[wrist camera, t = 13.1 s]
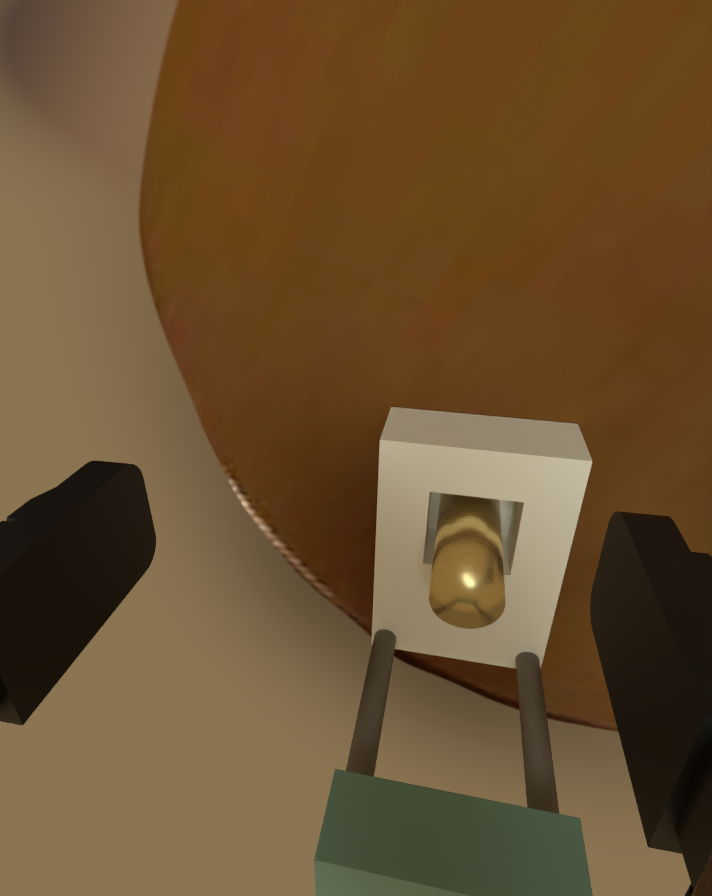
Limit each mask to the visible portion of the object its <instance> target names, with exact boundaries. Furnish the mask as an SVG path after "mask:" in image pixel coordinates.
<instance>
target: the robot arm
mask: <svg viewBox="0 0 712 896" xmlns="http://www.w3.org/2000/svg"><path fill="white" fill-rule="evenodd" d="M155 547H156V535H155V530H154V525H153V520H152V516H151V511H150V507H149V502H148V497H147V492H146V488H145V483H144V478H143V475H142V473H141V470H140V469H139V468H138V467H137V466H136V465H134V464H125V463H114V462H104V461H91V462H88V463H87V464H85V465H84V466H83V467H81V468H80V469H79V470H78V471H76V472H75V473H74V474H72V475H71V476H70V477H69V478H67V479H66V480H65V481H64V482H62V483H61V484H60V485H59V486H57V487H55V488H53V489H51V490H49V491H47V492H45V493H43V494H41V495H38V496H36V497H34V498H32V499H30V500H29V501H28V502H26V503H25V504H24V505H22V506H21V507H20V508H18V509H17V510H16V511H15V512H13V513H12V514H11V515H9V516H8V517H7V521H2V522H0V721H2V722H8V723H13V724H18V725H23V724H24V723H25V722H26V721H27V719H28V718H29V717H30V715H31V714H32V713H33V712H34V711H35V709H36V708H37V707H38V706H39V704H40V703H41V702H42V701H43V699H44V698H45V697H46V696H47V694H48V693H49V692H50V691H51V689H52V688H53V687H54V686H55V684H56V683H57V682H58V681H59V679H60V678H61V677H62V676H63V674H64V673H65V672H66V671H67V669H68V668H69V667H70V666H71V664H72V663H73V662H74V660H75V659H76V658H77V657H78V656H79V654H80V653H81V652H82V651H83V649H84V648H85V647H86V646H87V644H88V643H89V642H90V641H91V639H92V638H93V637H94V636H95V634H96V633H97V632H98V631H99V629H100V628H101V627H102V626H103V624H104V623H105V622H106V620H107V619H108V618H109V617H110V616H111V614H112V613H113V612H114V611H115V609H116V608H117V607H118V606H119V604H120V603H121V602H122V600H123V599H124V598H125V597H126V595H127V594H128V593H129V592H130V591H131V589H132V588H133V587H134V586H135V584H136V583H137V582H138V581H139V579H140V578H141V577H142V576H143V574H144V573H145V572H146V570H147V569H148V568H149V566H150V564H151V562H152V559H153V556H154V553H155ZM590 612H591V624H592V629H593V633H594V637H595V641H596V645H597V649H598V653H599V657H600V661H601V665H602V669H603V673H604V677H605V681H606V684H607V688H608V692H609V696H610V700H611V704H612V708H613V712H614V716H615V720H616V724H617V728H618V731H619V735H620V739H621V743H622V747H623V751H624V755H625V758H626V763H627V767H628V771H629V775H630V778H631V782H632V786H633V790H634V794H635V798H636V802H637V806H638V809H639V814H640V818H641V821H642V826H643V829H644V833H645V837H646V841H647V845H648V847H651V848H655V849H661V850H666V851H672V852H677V853H682V854H683V857H684V860H685V863H686V867H687V870H688V873H689V877H690V880H691V884H690V886H689V888H688V890H687V892H686V894H685V896H712V557H711V556H710V555H709V554H707V553H697V552H691V551H690V549H689V548H688V546H687V544H686V542H685V540H684V539H683V537H682V535H681V533H680V531H679V530H678V528H677V526H676V524H675V523H674V521H673V520H672V519H671V518H670V517H668V516H659V515H649V514H638V513H628V512H615V513H614V514H613V515H612V517H611V519H610V521H609V524H608V528H607V532H606V536H605V540H604V544H603V548H602V552H601V556H600V560H599V564H598V568H597V571H596V575H595V579H594V583H593V588H592V593H591V605H590Z"/></svg>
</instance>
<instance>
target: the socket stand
mask: <svg viewBox="0 0 712 896" xmlns="http://www.w3.org/2000/svg"><path fill="white" fill-rule="evenodd" d="M591 465H592V459H591V456H590V454H589V451H588V449H587V446H586V444H585V441H584V439H583V436H582V433H581V431H580V428H579V426H578V424H573V423H562V422H551V421H540V420H529V419H518V418H507V417H496V416H485V415H474V414H463V413H452V412H441V411H430V410H419V409H408V408H397V407H391V409H390V412H389V414H388V417H387V420H386V423H385V426H384V429H383V432H382V435H381V438H380V449H379V473H378V497H377V521H376V545H375V570H374V594H373V618H372V643H371V645H372V650H371V655H370V659H369V664H368V668H367V673H366V678H365V683H364V688H363V692H362V697H361V701H360V706H359V711H358V716H357V720H356V725H355V730H354V734H353V739H352V744H351V749H350V753H349V758H348V764H347V767H346V771H343V770H338V769H335V772H334V776H333V781H332V785H331V790H330V794H329V798H328V803H327V807H326V811H325V816H324V820H323V824H322V829H321V833H320V838H319V842H318V846H317V850H316V855H315V859H314V863H315V889H316V891H315V892H316V896H592V889H591V883H590V877H589V871H588V864H587V859H586V852H585V846H584V839H583V833H582V827H581V821H580V818H577V817H572V816H567V815H562V814H559V808H558V800H557V792H556V784H555V777H554V770H553V761H552V754H551V746H550V738H549V730H548V723H547V715H546V707H545V699H544V692H543V684H542V676H541V665H542V661H543V657H544V653H545V649H546V645H547V641H548V637H549V633H550V629H551V625H552V621H553V617H554V613H555V609H556V605H557V601H558V597H559V593H560V589H561V585H562V581H563V577H564V573H565V569H566V565H567V561H568V557H569V553H570V549H571V545H572V541H573V537H574V533H575V529H576V525H577V521H578V517H579V513H580V509H581V505H582V501H583V497H584V493H585V489H586V485H587V481H588V477H589V473H590V469H591ZM441 493H445V494H454V495H463V496H472V497H480V498H489V499H498V500H500V517H501V534H502V551H503V568H504V585H505V602H506V603H505V609H504V612H503V614H502V615H501V616H500V618H499V619H498V620H496V621H495V622H494V623H492V624H490V625H488V626H485V627H482V628H476V629H465V628H459V627H455V626H452V625H450V624H448V623H446V622H444V621H443V620H441V619H440V618H439V617H438V616H437V615H436V614H435V613H434V611H433V610H432V608H431V606H430V603H429V590H430V581H431V572H432V564H433V555H434V547H435V538H436V529H437V521H438V512H439V504H440V495H441ZM395 649H398V650H404V651H410V652H417V653H423V654H429V655H435V656H441V657H447V658H454V659H460V660H466V661H472V662H478V663H484V664H491V665H497V666H503V667H509V668H515V669H516V672H517V684H518V697H519V709H520V721H521V733H522V746H523V757H524V770H525V782H526V795H527V807H528V808H527V807H522V806H517V805H512V804H507V803H502V802H497V801H492V800H487V799H482V798H476V797H472V796H467V795H462V794H457V793H452V792H447V791H442V790H437V789H432V788H427V787H422V786H418V785H412V784H407V783H403V782H398V781H393V780H388V779H382V778H378V777H374V772H375V766H376V760H377V754H378V747H379V741H380V735H381V729H382V723H383V717H384V711H385V705H386V699H387V693H388V686H389V681H390V675H391V668H392V662H393V656H394V650H395Z"/></svg>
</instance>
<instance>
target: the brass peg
mask: <svg viewBox="0 0 712 896" xmlns="http://www.w3.org/2000/svg"><path fill="white" fill-rule="evenodd" d="M429 603H430V606H431V608H432V610H433V611H434V613H435V614H436V615H437V616H438V617H439V618H440V619H441V620H443V621H444V622H446V623H448V624H450V625H452V626H455V627H459V628H465V629H476V628H482V627H485V626H488V625H490V624H492V623H494V622H495V621H496V620H498V619H499V618H500V616H501V615H502V614H503V612H504V609H505V603H506V602H505V585H504V568H503V551H502V534H501V517H500V500H498V499H489V498H480V497H472V496H463V495H454V494H445V493H441V495H440V504H439V512H438V521H437V529H436V538H435V547H434V555H433V564H432V572H431V581H430V590H429Z"/></svg>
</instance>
